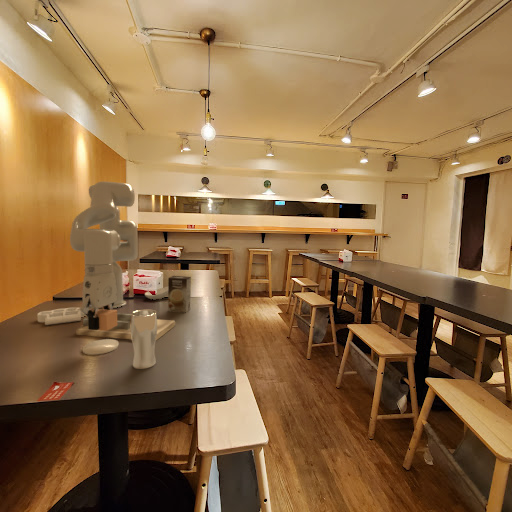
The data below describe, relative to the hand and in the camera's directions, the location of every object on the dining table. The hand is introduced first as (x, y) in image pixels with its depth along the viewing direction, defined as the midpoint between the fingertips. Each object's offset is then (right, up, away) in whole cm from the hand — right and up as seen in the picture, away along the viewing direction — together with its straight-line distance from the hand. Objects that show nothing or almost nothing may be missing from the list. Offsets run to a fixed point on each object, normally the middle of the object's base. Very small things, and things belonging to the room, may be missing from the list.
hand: (100, 325), depth 86 cm
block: (+1, 0, 0) cm, 1 cm away
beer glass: (+18, -9, -9) cm, 22 cm away
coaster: (0, -7, +1) cm, 7 cm away
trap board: (+1, -6, +17) cm, 18 cm away
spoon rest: (-1, -2, +67) cm, 67 cm away
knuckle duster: (-31, -5, +27) cm, 41 cm away
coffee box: (+13, -4, +43) cm, 45 cm away
